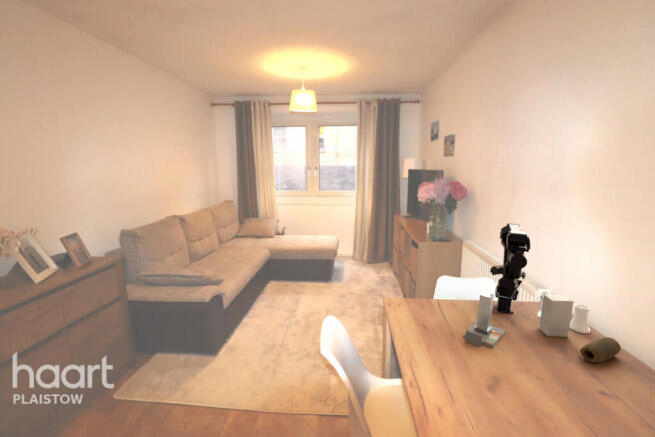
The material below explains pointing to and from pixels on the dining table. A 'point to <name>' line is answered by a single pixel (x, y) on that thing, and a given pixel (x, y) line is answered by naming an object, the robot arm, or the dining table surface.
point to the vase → (580, 319)
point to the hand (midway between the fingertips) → (509, 297)
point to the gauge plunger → (485, 314)
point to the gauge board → (483, 336)
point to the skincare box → (556, 315)
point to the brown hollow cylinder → (600, 350)
